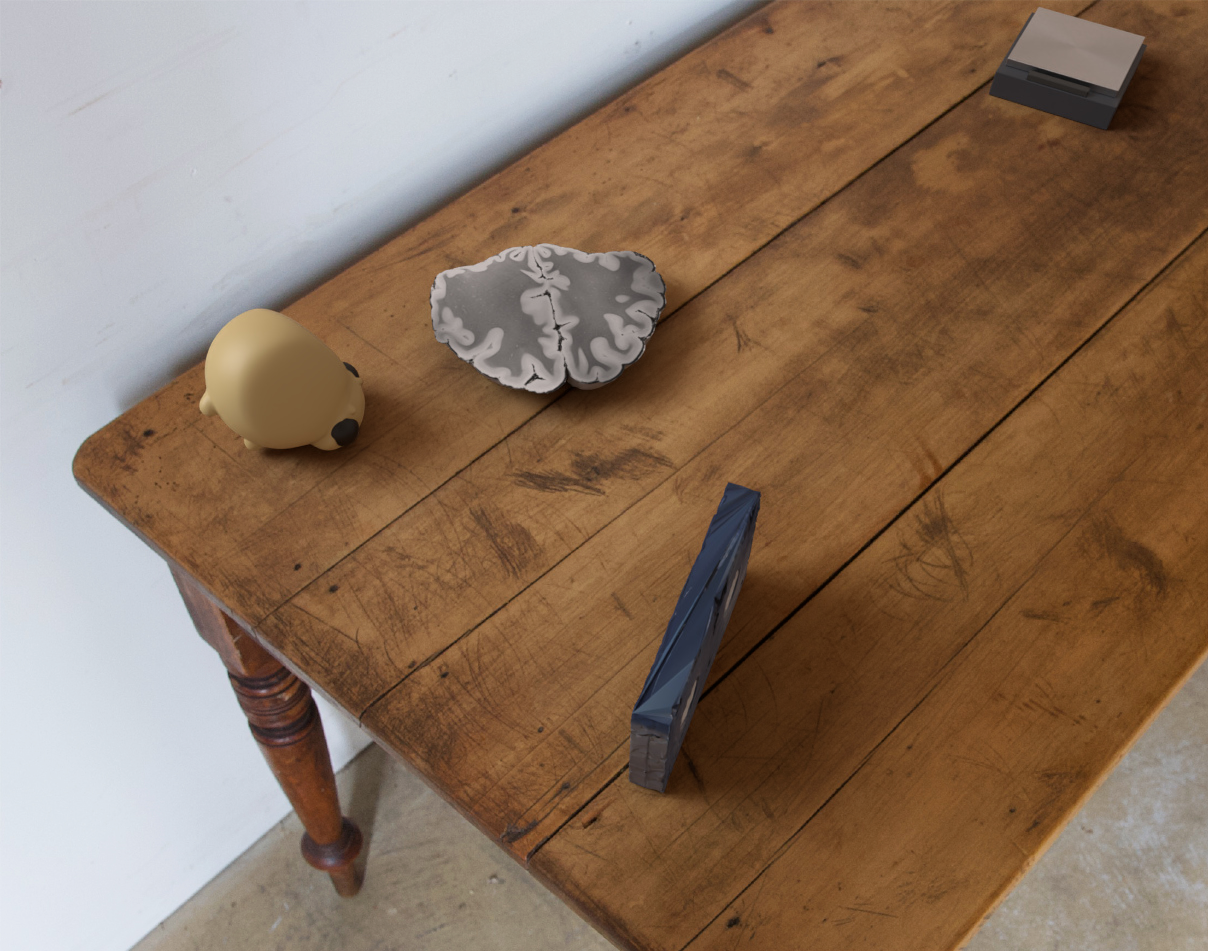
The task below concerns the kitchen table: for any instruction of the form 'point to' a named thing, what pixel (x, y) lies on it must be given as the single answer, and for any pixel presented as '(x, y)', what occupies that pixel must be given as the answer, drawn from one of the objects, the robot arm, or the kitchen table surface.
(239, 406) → the toy pig
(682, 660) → the vhs cassette tape
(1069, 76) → the scale
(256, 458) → the kitchen table surface
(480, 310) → the brain slice
